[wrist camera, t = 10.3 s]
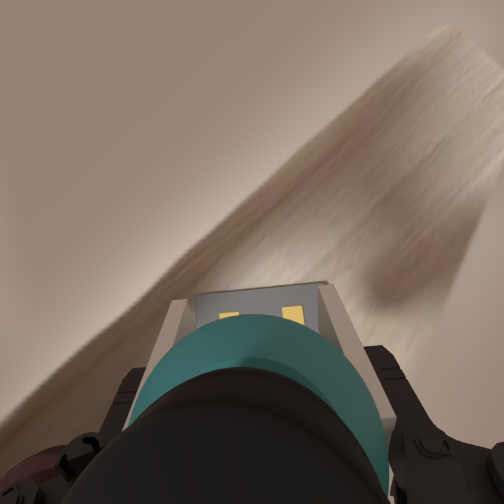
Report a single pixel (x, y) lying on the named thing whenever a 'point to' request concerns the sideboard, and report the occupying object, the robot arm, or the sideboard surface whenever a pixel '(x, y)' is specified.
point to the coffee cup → (34, 468)
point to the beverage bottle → (246, 425)
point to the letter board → (261, 304)
